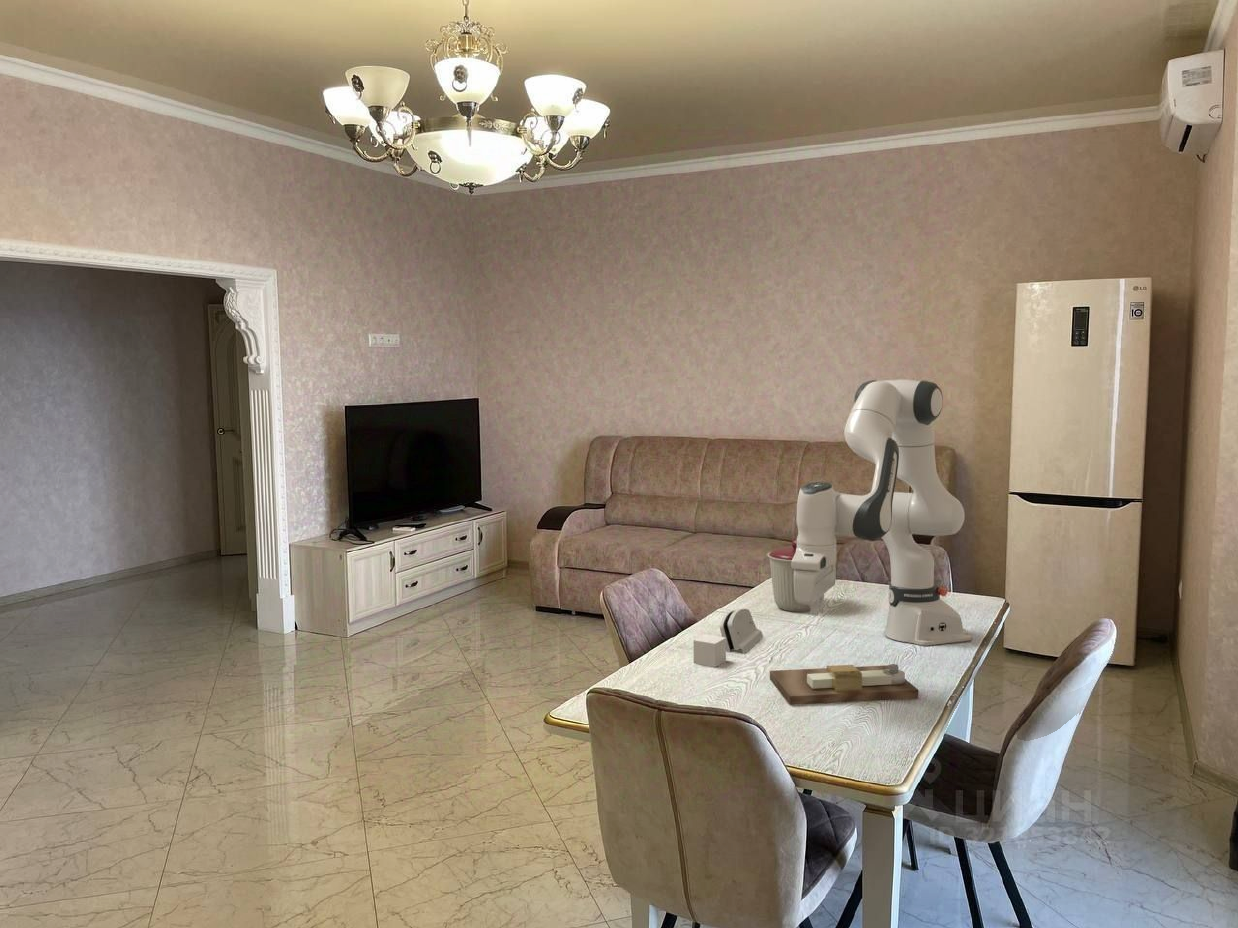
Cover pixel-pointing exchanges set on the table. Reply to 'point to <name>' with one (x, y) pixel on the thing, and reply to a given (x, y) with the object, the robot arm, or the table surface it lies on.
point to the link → (868, 678)
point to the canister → (784, 578)
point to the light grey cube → (709, 650)
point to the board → (801, 692)
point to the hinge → (739, 630)
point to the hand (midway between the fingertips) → (816, 613)
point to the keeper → (845, 678)
